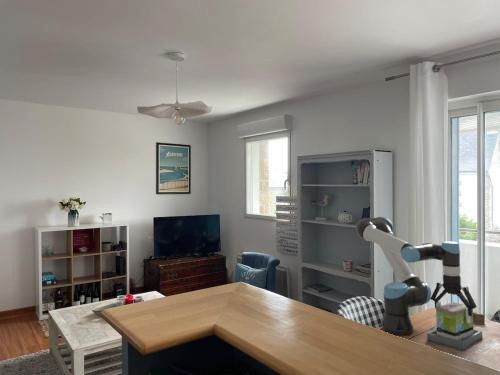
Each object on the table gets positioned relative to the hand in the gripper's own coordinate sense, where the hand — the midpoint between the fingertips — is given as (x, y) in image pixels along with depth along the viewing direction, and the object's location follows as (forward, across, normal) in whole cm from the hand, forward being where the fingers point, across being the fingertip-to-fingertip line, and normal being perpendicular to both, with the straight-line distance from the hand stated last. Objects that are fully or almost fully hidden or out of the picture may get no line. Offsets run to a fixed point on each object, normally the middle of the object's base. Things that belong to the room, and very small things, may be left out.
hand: (453, 318), depth 180 cm
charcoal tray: (+10, 0, 0) cm, 10 cm away
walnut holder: (+10, +5, -22) cm, 24 cm away
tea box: (+9, -1, 0) cm, 9 cm away
